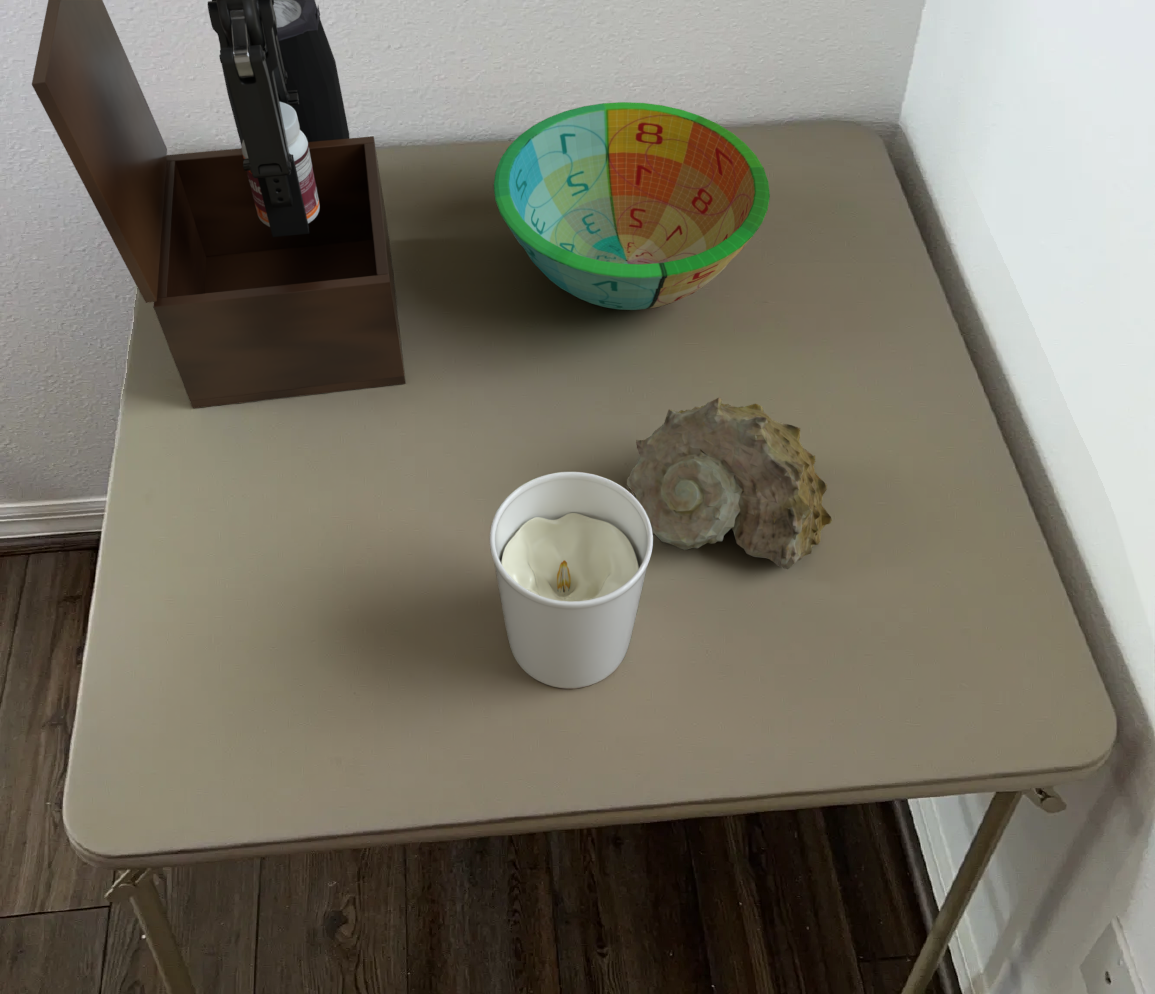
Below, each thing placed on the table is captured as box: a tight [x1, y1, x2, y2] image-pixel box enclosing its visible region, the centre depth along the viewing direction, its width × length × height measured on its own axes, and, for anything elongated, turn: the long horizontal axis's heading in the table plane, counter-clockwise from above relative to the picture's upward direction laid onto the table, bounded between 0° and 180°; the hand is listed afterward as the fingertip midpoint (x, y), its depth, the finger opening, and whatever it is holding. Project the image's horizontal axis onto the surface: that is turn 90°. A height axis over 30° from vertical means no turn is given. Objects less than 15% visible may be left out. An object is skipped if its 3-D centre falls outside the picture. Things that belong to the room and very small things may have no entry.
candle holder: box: [489, 471, 654, 689], centre depth 72 cm, size 10×10×12 cm
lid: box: [31, 0, 168, 304], centre depth 78 cm, size 18×18×1 cm
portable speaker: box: [219, 0, 350, 147], centre depth 97 cm, size 9×9×20 cm
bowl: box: [493, 101, 771, 311], centre depth 95 cm, size 22×22×10 cm
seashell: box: [626, 397, 833, 570], centre depth 80 cm, size 11×14×10 cm
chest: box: [152, 135, 407, 409], centre depth 91 cm, size 17×18×11 cm
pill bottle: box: [241, 102, 320, 227], centre depth 83 cm, size 5×5×8 cm
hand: (289, 208), depth 86 cm, fingers closed on pill bottle, 5 cm apart
